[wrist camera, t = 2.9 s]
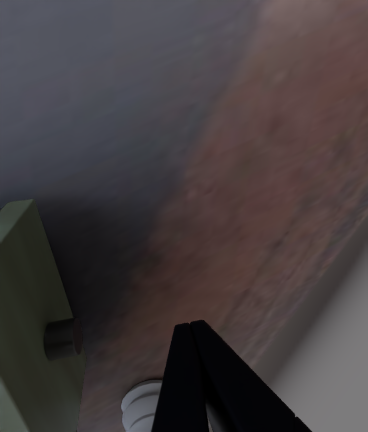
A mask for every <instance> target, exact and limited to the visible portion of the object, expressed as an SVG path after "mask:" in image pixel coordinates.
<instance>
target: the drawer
mask: <svg viewBox="0 0 368 432" xmlns="http://www.w3.org/2000/svg"><path fill="white" fill-rule="evenodd" d="M82 344H83V335H82V327H81V323H80V321H79V319H78V318H76V317H75V318H73V315H72V312H71V309H70V306H69V302H68V299H67V296H66V293H65V290H64V287H63V284H62V281H61V278H60V275H59V272H58V269H57V266H56V263H55V260H54V257H53V254H52V251H51V248H50V245H49V242H48V239H47V236H46V233H45V230H44V227H43V224H42V221H41V218H40V215H39V212H38V209H37V205H36V202H35V200H34V199H29V200H22V201H14V202H8V203H7V204H6V205H5V206H4V207H3V208H2V209H1V210H0V432H77V426H78V418H79V411H80V404H81V396H82V389H83V381H84V374H85V367H86V359H87V357H86V354H85V351H84V348H83V345H82Z"/></svg>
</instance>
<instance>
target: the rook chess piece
mask: <svg viewBox="0 0 368 432" xmlns="http://www.w3.org/2000/svg"><path fill="white" fill-rule="evenodd" d="M161 385H162V380H148V381H145V382H141V383H139V384H137V385H136V386H134V387H132V388H131V390H130V391H129V392H128V393H127V394H126V396H125V397H124V399H123V400H122V405H121V409H122V411H123V416H122V422H123V426H124V428H125V430H126V432H151V429H152V425H153V420H154V416H155V411H156V407H157V402H158V398H159V394H160V389H161Z"/></svg>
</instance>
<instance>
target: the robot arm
mask: <svg viewBox="0 0 368 432" xmlns="http://www.w3.org/2000/svg"><path fill="white" fill-rule="evenodd" d="M207 415H208V418H209V421H210V424H211V427H212V430H213V432H312V431H311V430H310V429H309V428H308V427H307V426H306V425H305V424H304V423H303V422H302V421H301V420H300V419H299V418H298V417H295V414H294V413H293V412H292V411H291V409H289V407H288V406H287V405H286V404H285V403H284V402H283V401H282V400H281V399H280V398H279V397H278V396H277V395H276V394H275V393H274V392H273V391H272V390H271V389H270V388H269V387H268V386H267V385H266V384H265V383H264V382H263V381H262V380H261V378H260V377H258V375H257V374H256V373H255V372H254V371H253V370H252V369H251V368H250V367H249V366H248V365H247V364H246V363H245V362H244V361H243V360H242V359H241V358H240V357H239V356H238V355H237V354H236V353H235V352H234V351H233V350H232V348H231V347H230V346H229V345H228V344H227V343H226V342H225V341H224V340H223V339H222V338H221V337H220V336H219V335H218V334H217V333H216V332H215V331H214V330H213V329H212V328H211V327H210V326H209V325H208V324H207V323H206V322H205V321H204V320H197V321H192V322H190V324H189V323H182V324H177V325H175V327H174V331H173V336H172V340H171V345H170V349H169V354H168V358H167V362H166V367H165V371H164V376H163V380H162V385H161V389H160V394H159V398H158V402H157V407H156V411H155V416H154V420H153V425H152V429H151V432H209V426H208V418H207Z"/></svg>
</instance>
